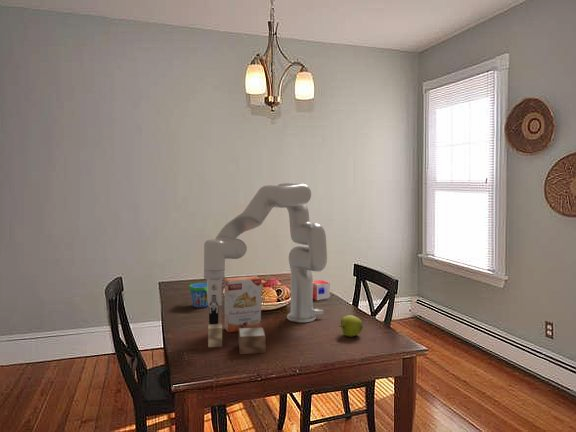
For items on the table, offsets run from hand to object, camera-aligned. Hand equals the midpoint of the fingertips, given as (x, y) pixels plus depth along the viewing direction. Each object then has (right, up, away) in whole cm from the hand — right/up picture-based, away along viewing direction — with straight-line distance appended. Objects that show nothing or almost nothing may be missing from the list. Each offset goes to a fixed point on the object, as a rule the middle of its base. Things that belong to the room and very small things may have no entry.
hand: (213, 319), depth 167 cm
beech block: (0, -9, +1) cm, 9 cm away
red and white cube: (+43, -4, +67) cm, 80 cm away
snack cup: (-14, -5, +50) cm, 53 cm away
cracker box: (+9, -8, +19) cm, 22 cm away
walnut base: (+14, -10, -3) cm, 17 cm away
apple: (+51, -9, +11) cm, 53 cm away
